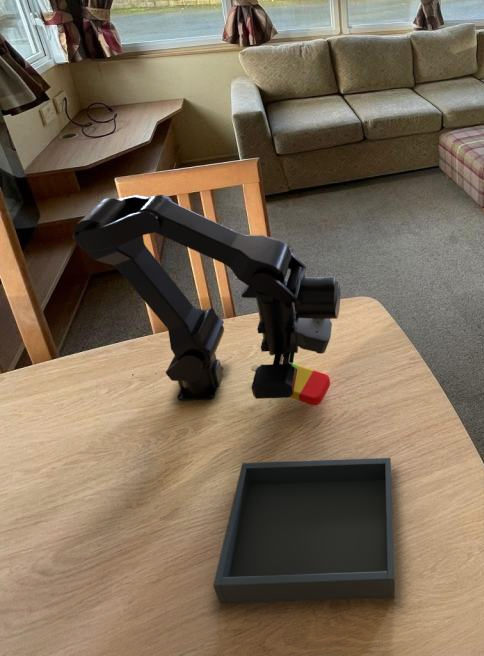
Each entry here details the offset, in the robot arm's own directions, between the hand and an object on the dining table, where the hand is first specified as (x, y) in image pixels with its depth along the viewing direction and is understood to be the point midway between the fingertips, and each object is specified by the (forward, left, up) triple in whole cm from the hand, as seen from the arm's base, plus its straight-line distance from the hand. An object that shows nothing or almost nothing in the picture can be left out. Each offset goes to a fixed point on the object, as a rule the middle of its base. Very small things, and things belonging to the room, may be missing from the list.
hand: (287, 378), depth 86 cm
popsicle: (0, 0, -1) cm, 1 cm away
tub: (+7, -23, -2) cm, 24 cm away
